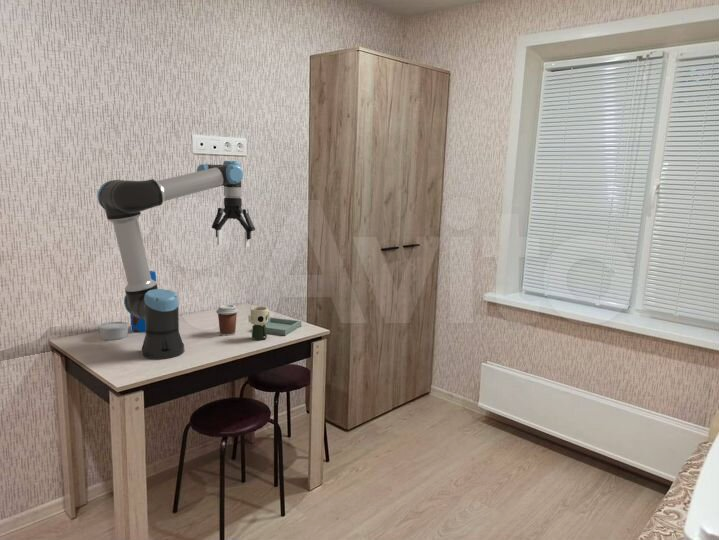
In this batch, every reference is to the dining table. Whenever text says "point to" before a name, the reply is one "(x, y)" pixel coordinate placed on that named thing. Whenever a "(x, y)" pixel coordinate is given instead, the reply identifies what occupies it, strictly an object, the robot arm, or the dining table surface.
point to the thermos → (138, 323)
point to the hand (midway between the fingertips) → (233, 245)
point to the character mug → (259, 321)
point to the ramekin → (114, 330)
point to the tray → (281, 326)
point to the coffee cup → (227, 319)
